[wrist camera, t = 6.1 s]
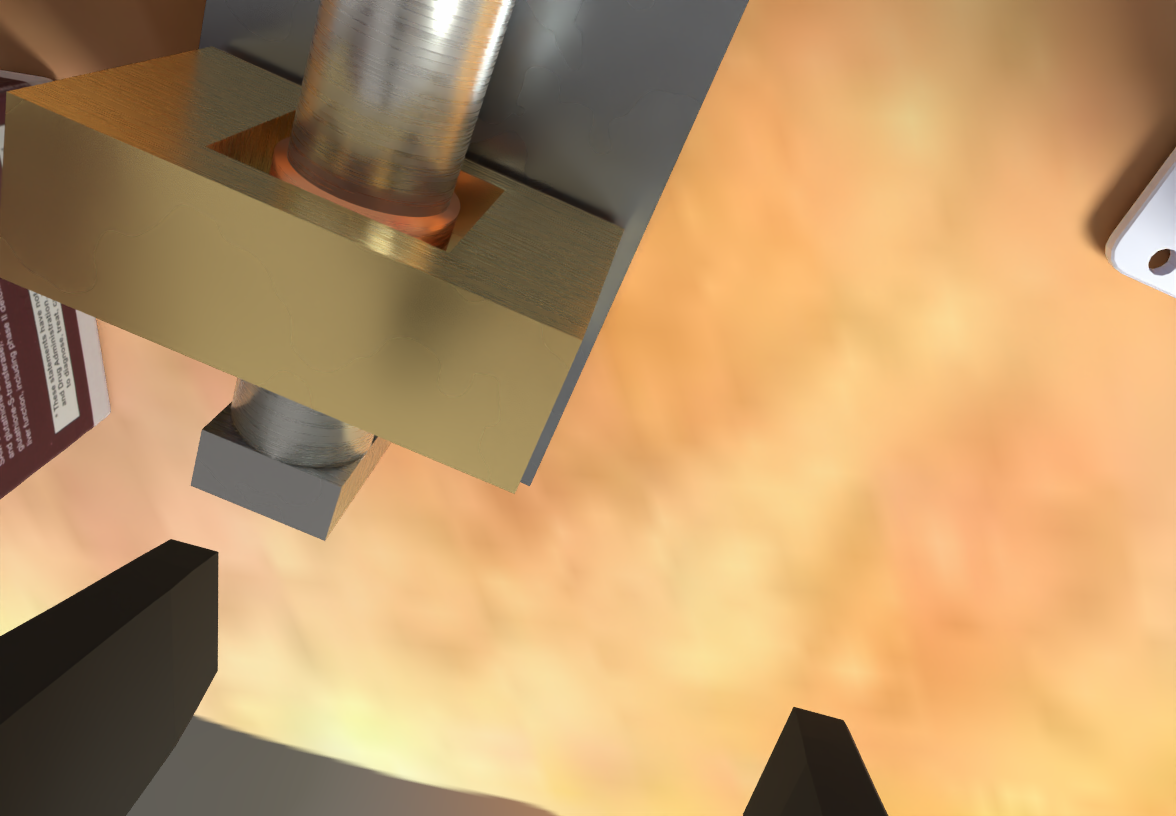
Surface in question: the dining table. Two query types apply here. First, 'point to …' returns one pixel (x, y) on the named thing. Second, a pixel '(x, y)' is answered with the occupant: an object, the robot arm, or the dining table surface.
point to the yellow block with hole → (296, 260)
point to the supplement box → (43, 364)
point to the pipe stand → (452, 165)
